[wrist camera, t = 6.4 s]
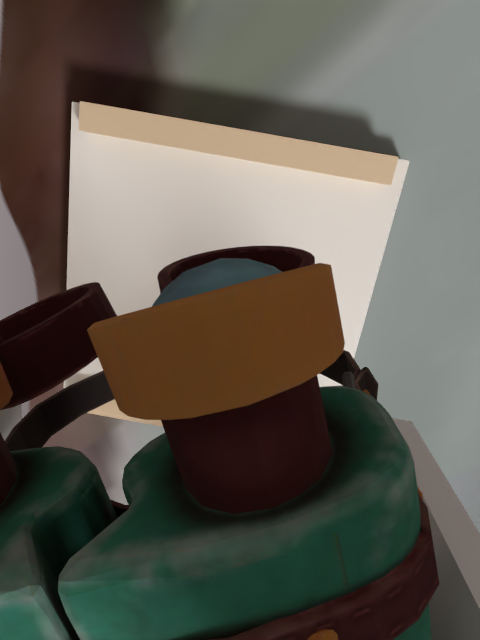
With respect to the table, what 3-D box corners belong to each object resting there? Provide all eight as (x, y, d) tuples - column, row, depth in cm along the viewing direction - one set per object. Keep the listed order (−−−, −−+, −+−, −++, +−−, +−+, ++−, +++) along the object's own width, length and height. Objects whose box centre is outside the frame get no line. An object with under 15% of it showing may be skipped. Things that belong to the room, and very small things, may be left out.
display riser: (82, 105, 26) (62, 97, 23) (401, 161, 26) (416, 159, 23) (72, 389, 32) (55, 407, 30) (326, 434, 32) (331, 456, 30)
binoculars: (140, 536, 16) (-49, 1071, 6) (28, 269, 13) (-681, 533, 3) (378, 497, 15) (589, 1087, 5) (320, 192, 11) (582, 248, 2)
